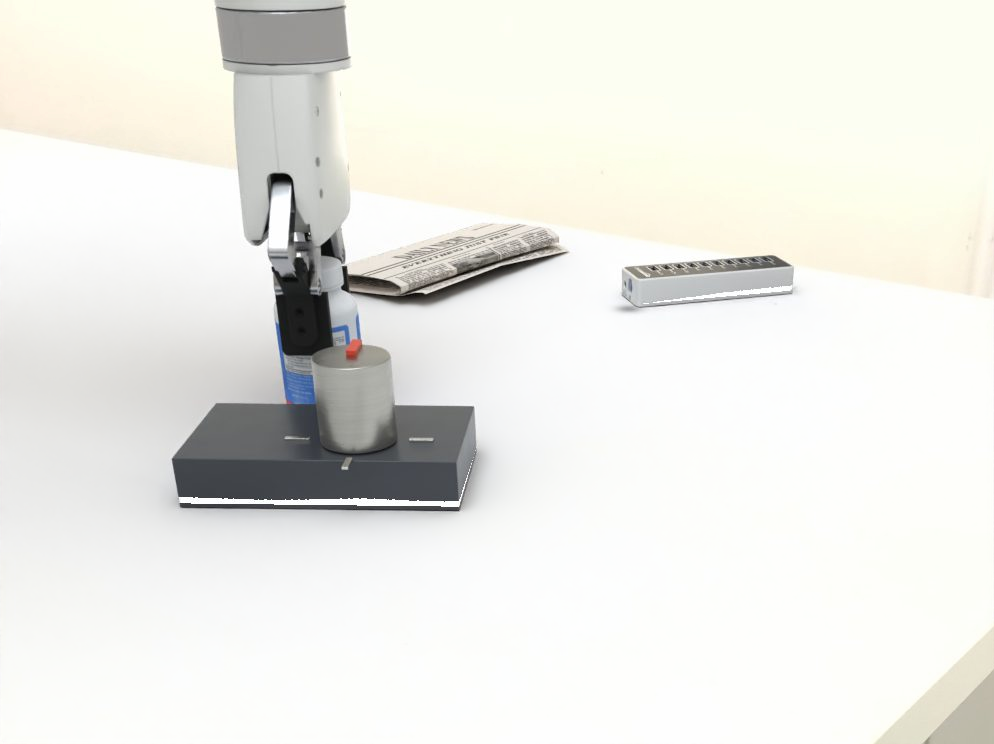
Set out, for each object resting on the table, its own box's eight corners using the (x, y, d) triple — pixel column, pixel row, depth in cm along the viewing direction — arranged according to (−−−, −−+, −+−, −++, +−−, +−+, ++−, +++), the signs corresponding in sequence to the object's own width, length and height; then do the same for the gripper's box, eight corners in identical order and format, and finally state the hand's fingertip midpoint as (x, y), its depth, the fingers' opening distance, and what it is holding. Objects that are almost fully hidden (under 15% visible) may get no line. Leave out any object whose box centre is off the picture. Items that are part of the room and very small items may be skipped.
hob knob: (391, 454, 75) (383, 363, 73) (313, 454, 75) (302, 363, 73) (402, 426, 79) (395, 339, 76) (328, 425, 79) (318, 338, 76)
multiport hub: (794, 293, 116) (795, 266, 115) (637, 307, 111) (637, 279, 110) (772, 280, 119) (774, 254, 118) (620, 293, 115) (620, 266, 114)
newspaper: (420, 309, 110) (415, 278, 109) (317, 300, 117) (311, 271, 116) (581, 251, 127) (578, 224, 125) (482, 246, 133) (479, 220, 132)
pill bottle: (314, 389, 93) (297, 248, 88) (382, 399, 92) (369, 256, 87) (270, 415, 89) (250, 268, 84) (341, 425, 87) (325, 276, 82)
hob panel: (172, 517, 75) (163, 464, 73) (222, 447, 84) (215, 400, 82) (456, 520, 75) (453, 468, 73) (476, 450, 84) (474, 403, 82)
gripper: (258, 24, 86) (292, 302, 95) (178, 57, 71) (226, 382, 81) (374, 26, 86) (396, 303, 95) (317, 59, 71) (350, 383, 81)
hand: (318, 336), depth 88 cm, fingers closed on pill bottle, 5 cm apart
